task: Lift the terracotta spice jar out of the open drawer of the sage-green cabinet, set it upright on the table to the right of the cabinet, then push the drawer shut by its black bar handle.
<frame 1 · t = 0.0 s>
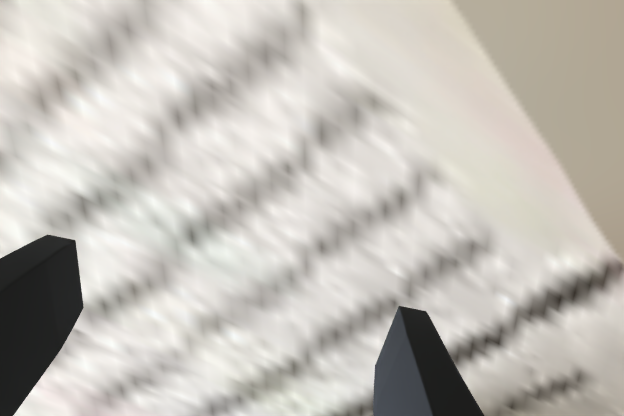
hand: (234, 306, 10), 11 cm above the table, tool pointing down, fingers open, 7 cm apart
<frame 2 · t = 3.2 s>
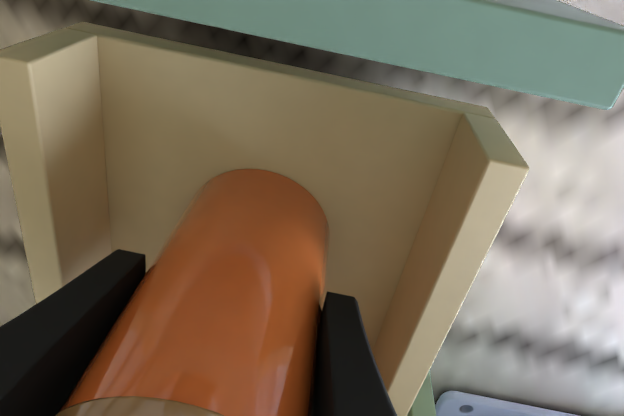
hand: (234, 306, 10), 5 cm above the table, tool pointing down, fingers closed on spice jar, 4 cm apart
spice jar: (258, 232, 13), point 2 cm above the table, touching drawer, gripper
cabinet: (237, 404, 20), on the table
drawer: (267, 147, 10), point 3 cm above the table, slide at 10.0 cm, touching spice jar
when the fingers open (3 cm above the table, at t = 7.8 s): spice jar stays where it is, on the table.
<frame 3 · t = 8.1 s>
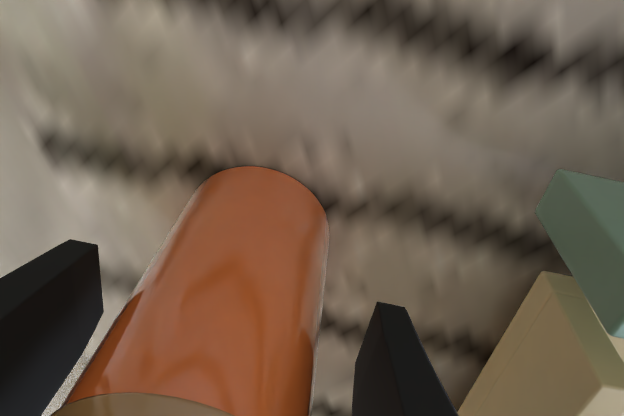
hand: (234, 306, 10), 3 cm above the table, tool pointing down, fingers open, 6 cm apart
spice jar: (257, 230, 13), on the table
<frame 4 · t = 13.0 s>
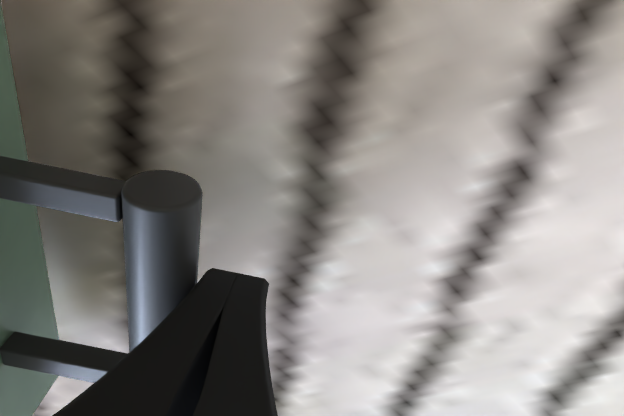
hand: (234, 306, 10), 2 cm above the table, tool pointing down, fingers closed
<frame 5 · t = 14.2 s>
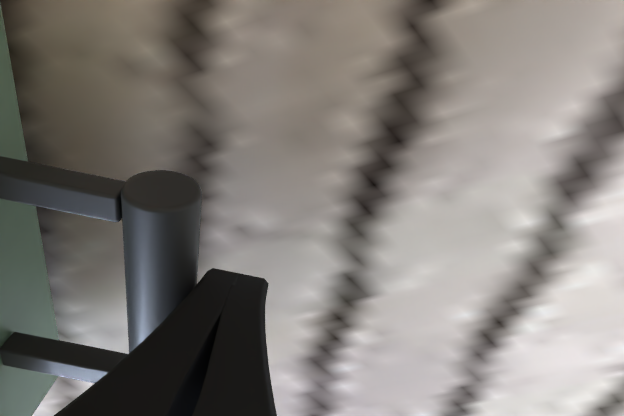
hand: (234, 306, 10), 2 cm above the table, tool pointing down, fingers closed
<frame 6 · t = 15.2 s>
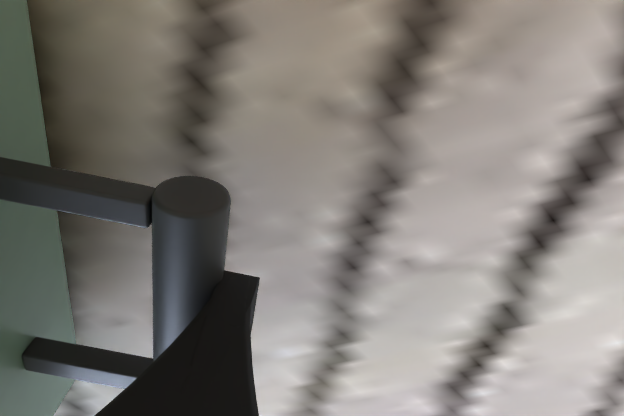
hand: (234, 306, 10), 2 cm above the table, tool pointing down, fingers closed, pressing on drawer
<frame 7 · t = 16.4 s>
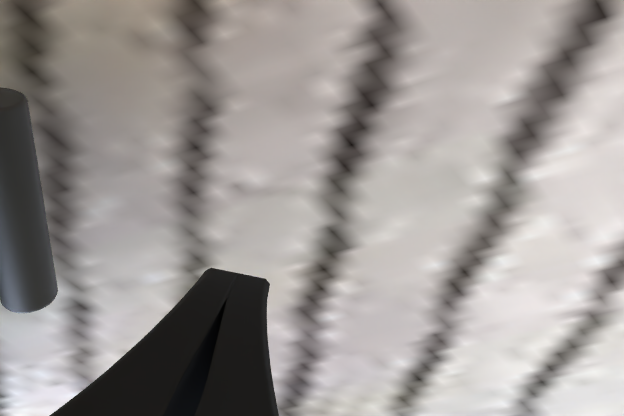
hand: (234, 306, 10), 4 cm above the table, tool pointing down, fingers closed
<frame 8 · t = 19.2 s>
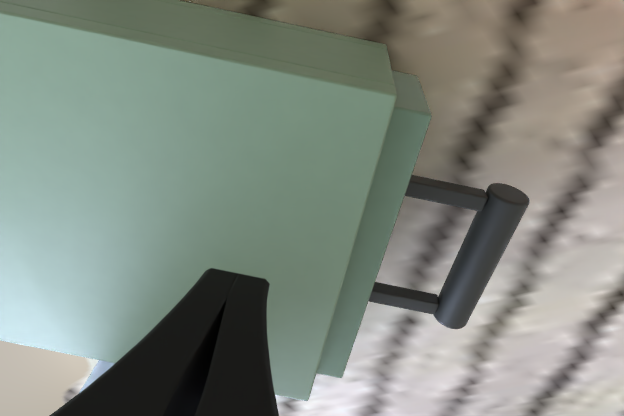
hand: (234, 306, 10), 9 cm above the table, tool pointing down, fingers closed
cabinet: (189, 163, 19), on the table
drawer: (271, 218, 17), point 3 cm above the table, slide at 0.0 cm, touching cabinet
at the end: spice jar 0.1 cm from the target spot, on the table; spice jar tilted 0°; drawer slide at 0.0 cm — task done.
